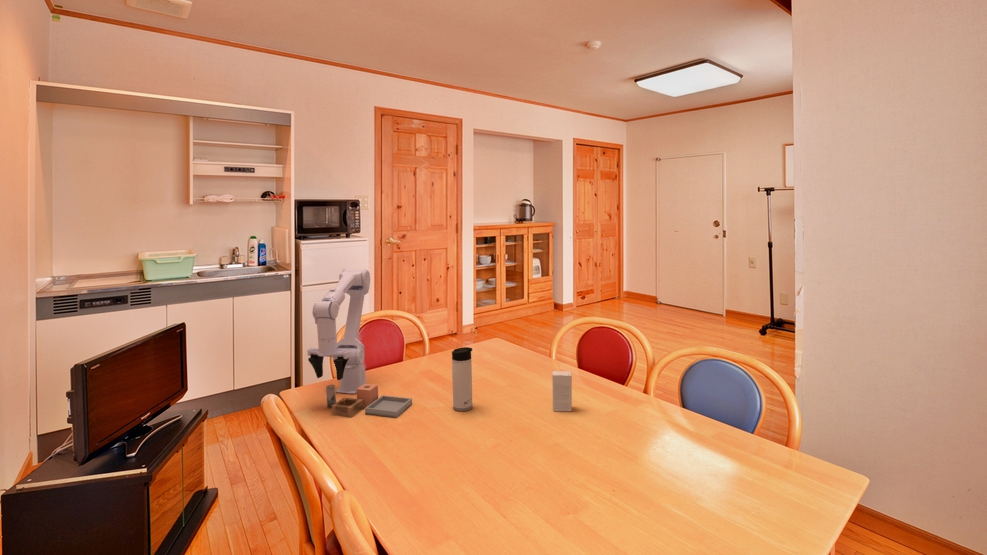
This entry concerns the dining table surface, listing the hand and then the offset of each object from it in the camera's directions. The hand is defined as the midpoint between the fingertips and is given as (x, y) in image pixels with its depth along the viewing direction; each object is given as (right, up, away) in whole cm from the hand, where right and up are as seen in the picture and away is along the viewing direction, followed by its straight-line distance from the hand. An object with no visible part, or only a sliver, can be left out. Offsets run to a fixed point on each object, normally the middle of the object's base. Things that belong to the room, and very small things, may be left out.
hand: (329, 378), depth 156 cm
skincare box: (+75, -10, -3) cm, 76 cm away
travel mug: (+44, -10, -1) cm, 45 cm away
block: (+12, -9, +3) cm, 15 cm away
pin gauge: (0, -10, +1) cm, 10 cm away
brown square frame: (+7, -10, -3) cm, 13 cm away
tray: (+20, -10, -1) cm, 22 cm away
